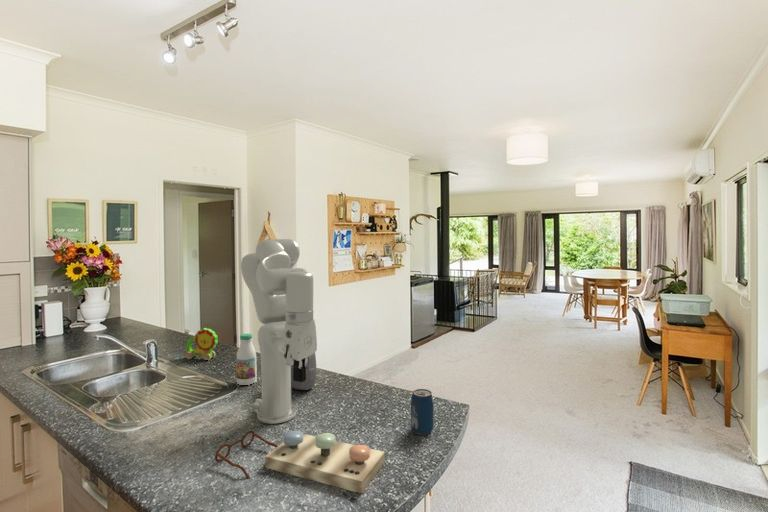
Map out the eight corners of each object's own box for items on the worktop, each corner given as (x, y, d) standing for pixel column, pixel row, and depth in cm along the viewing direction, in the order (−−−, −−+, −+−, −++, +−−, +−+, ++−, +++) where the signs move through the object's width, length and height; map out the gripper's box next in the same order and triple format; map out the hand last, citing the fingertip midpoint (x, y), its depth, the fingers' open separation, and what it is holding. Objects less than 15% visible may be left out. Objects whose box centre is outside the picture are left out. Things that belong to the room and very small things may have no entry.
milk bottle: (239, 379, 169) (238, 332, 168) (258, 379, 170) (257, 332, 169) (234, 386, 162) (233, 337, 160) (254, 386, 162) (253, 336, 161)
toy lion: (184, 359, 196) (183, 328, 195) (191, 356, 201) (190, 326, 201) (213, 361, 193) (213, 330, 192) (220, 358, 198) (219, 327, 198)
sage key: (311, 446, 105) (311, 440, 105) (321, 437, 110) (321, 431, 110) (329, 450, 103) (328, 444, 103) (338, 440, 108) (338, 435, 108)
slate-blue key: (279, 443, 109) (279, 437, 109) (291, 434, 114) (291, 429, 114) (296, 447, 107) (295, 441, 107) (306, 438, 112) (306, 432, 112)
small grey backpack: (320, 389, 159) (319, 338, 158) (305, 396, 152) (304, 343, 151) (292, 381, 167) (291, 333, 166) (277, 387, 160) (276, 338, 159)
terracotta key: (345, 459, 101) (345, 452, 101) (355, 448, 106) (355, 443, 106) (364, 463, 99) (364, 457, 99) (373, 453, 104) (373, 447, 104)
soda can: (435, 426, 128) (435, 389, 127) (430, 437, 122) (430, 398, 121) (414, 423, 130) (414, 387, 130) (408, 433, 124) (408, 395, 123)
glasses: (252, 443, 119) (252, 427, 118) (285, 456, 112) (285, 438, 112) (214, 465, 107) (213, 447, 107) (248, 481, 101) (248, 461, 100)
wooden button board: (265, 467, 106) (264, 451, 105) (296, 442, 119) (296, 427, 118) (362, 493, 95) (362, 476, 95) (384, 462, 108) (384, 447, 108)
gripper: (294, 323, 104) (294, 393, 106) (325, 312, 118) (325, 373, 119) (270, 320, 107) (271, 387, 109) (304, 309, 121) (304, 369, 122)
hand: (299, 380), depth 114 cm, fingers closed
